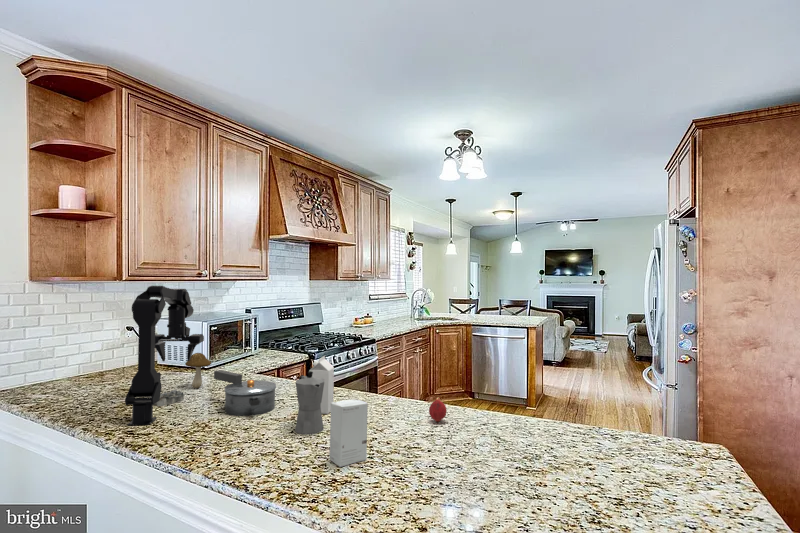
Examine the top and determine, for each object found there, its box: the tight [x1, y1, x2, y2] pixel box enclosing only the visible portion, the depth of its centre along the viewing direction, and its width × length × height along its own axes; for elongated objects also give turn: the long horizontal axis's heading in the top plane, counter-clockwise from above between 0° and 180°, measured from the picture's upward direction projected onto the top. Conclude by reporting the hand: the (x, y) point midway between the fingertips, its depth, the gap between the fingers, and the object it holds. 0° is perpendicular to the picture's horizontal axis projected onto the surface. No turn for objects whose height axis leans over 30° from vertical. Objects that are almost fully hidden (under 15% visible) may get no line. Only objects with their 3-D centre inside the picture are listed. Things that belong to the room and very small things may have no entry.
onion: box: [428, 397, 447, 423], centre depth 144 cm, size 6×6×8 cm
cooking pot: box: [224, 389, 276, 417], centre depth 157 cm, size 25×17×7 cm
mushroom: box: [184, 352, 212, 389], centre depth 186 cm, size 9×11×15 cm
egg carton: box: [149, 389, 186, 407], centre depth 165 cm, size 11×8×4 cm
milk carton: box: [308, 355, 335, 415], centre depth 155 cm, size 7×7×19 cm
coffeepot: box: [294, 370, 324, 435], centre depth 137 cm, size 15×9×18 cm, turn 33°
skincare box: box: [329, 398, 369, 468], centre depth 113 cm, size 8×6×15 cm
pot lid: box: [213, 369, 277, 395], centre depth 161 cm, size 30×18×4 cm, turn 55°
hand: (176, 361), depth 169 cm, fingers open, 9 cm apart
